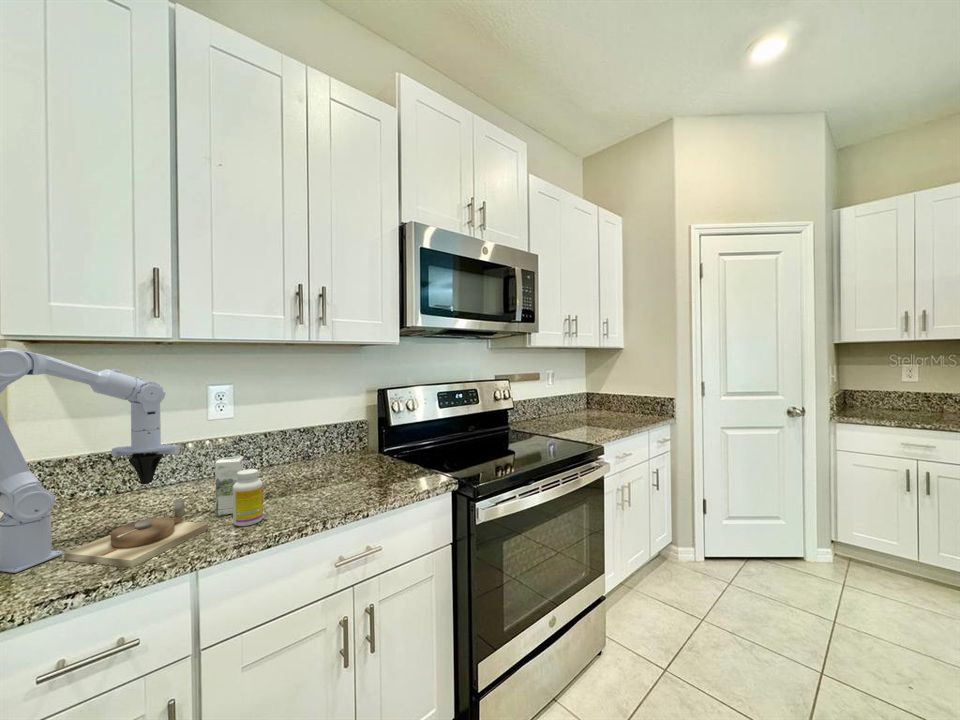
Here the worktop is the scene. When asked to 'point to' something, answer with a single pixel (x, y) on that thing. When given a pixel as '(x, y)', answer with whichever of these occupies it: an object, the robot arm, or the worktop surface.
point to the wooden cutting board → (135, 555)
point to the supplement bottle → (247, 498)
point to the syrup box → (226, 483)
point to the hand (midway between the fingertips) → (146, 483)
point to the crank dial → (147, 529)
